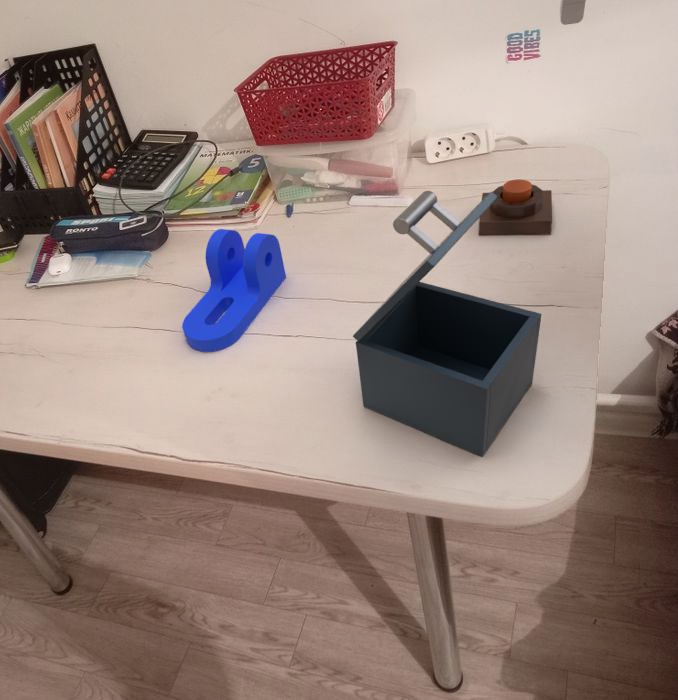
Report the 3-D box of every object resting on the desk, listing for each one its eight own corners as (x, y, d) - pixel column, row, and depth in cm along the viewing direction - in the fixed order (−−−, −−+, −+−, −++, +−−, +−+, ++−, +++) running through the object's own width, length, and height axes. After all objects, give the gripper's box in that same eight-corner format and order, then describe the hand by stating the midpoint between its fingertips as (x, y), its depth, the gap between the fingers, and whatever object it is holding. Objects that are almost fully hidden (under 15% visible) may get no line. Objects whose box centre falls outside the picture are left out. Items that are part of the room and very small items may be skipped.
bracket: (238, 269, 96) (225, 219, 90) (286, 277, 92) (275, 224, 86) (175, 344, 86) (156, 293, 80) (224, 357, 82) (208, 304, 76)
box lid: (498, 196, 56) (453, 159, 56) (434, 267, 50) (385, 225, 51) (415, 278, 68) (380, 247, 69) (358, 341, 63) (320, 307, 64)
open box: (532, 383, 66) (541, 313, 60) (482, 457, 61) (486, 389, 55) (415, 344, 75) (413, 279, 69) (363, 406, 70) (355, 342, 63)
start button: (530, 189, 87) (532, 178, 86) (530, 203, 84) (531, 192, 83) (502, 191, 88) (503, 179, 87) (501, 204, 86) (502, 193, 85)
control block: (549, 203, 89) (552, 178, 87) (550, 234, 84) (553, 208, 82) (481, 205, 93) (483, 181, 90) (478, 235, 88) (479, 210, 85)
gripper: (547, -176, 57) (532, -10, 65) (550, -138, 43) (531, 64, 52) (628, -197, 54) (602, -20, 63) (658, -163, 41) (620, 54, 50)
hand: (570, 18), depth 57 cm, fingers closed
